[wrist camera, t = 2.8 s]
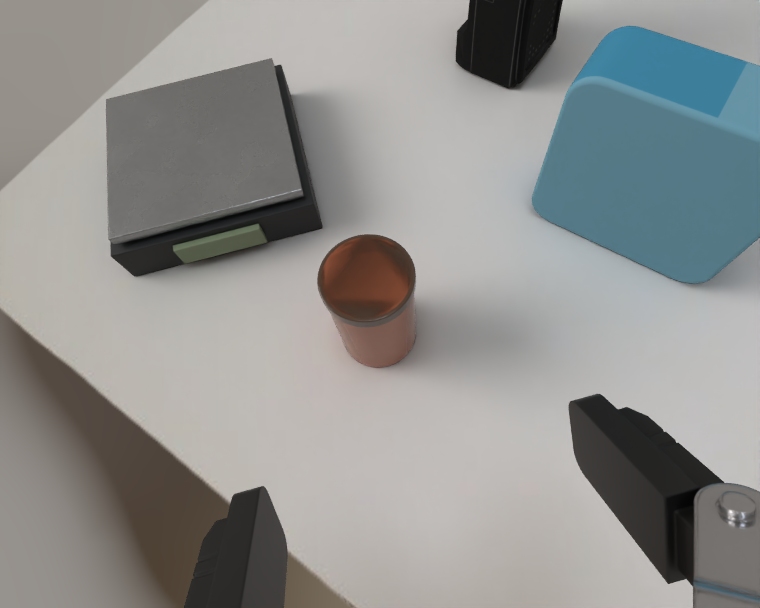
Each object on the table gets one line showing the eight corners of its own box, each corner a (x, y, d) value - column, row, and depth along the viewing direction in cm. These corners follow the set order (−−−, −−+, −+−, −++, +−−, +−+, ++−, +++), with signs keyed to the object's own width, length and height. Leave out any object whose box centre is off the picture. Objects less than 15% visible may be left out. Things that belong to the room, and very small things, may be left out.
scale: (134, 283, 35) (110, 262, 32) (128, 134, 41) (107, 107, 38) (323, 233, 36) (315, 209, 33) (290, 94, 42) (281, 63, 39)
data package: (721, 240, 33) (870, 98, 22) (697, 292, 31) (843, 168, 20) (554, 168, 36) (610, 14, 25) (526, 212, 35) (572, 70, 24)
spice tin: (350, 378, 31) (328, 333, 24) (334, 308, 33) (309, 247, 26) (426, 357, 31) (427, 306, 24) (406, 289, 33) (400, 223, 26)
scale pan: (114, 245, 33) (107, 239, 32) (111, 107, 38) (105, 99, 37) (304, 197, 33) (302, 189, 32) (274, 66, 38) (271, 57, 38)
